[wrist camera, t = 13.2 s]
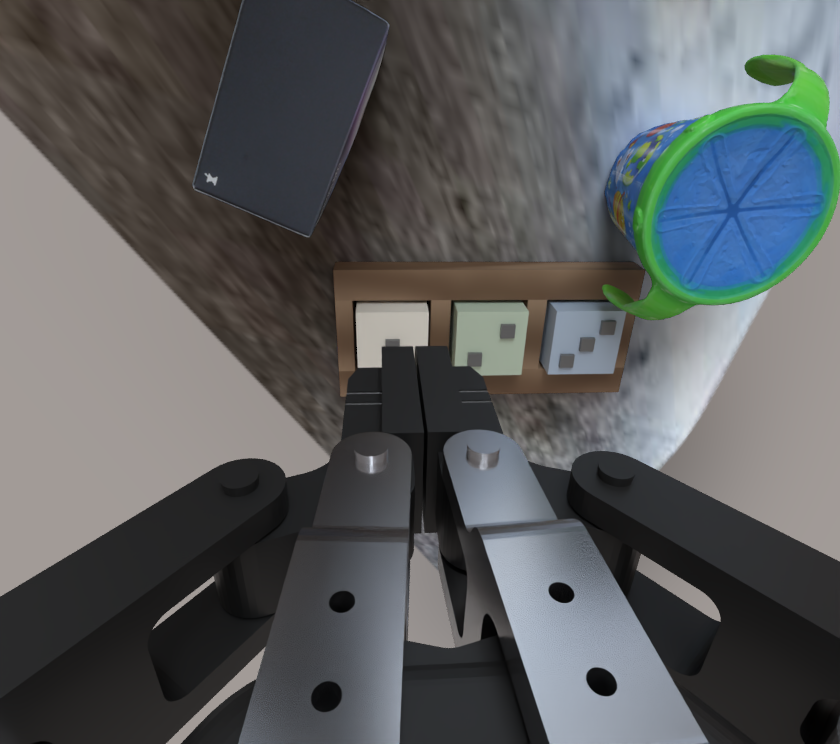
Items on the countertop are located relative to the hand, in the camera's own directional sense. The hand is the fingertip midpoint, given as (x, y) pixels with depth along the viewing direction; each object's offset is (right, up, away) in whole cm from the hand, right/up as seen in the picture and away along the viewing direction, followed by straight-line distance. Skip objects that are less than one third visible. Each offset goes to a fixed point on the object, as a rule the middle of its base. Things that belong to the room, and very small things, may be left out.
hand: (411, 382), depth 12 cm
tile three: (+12, +4, +29) cm, 32 cm away
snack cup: (+17, +13, +25) cm, 33 cm away
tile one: (-2, +4, +28) cm, 29 cm away
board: (+5, +4, +29) cm, 30 cm away
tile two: (+5, +4, +29) cm, 30 cm away
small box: (-7, +17, +21) cm, 28 cm away
